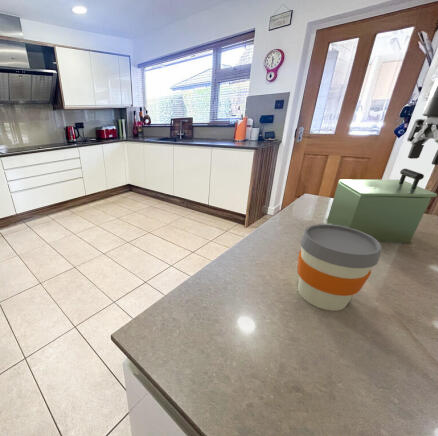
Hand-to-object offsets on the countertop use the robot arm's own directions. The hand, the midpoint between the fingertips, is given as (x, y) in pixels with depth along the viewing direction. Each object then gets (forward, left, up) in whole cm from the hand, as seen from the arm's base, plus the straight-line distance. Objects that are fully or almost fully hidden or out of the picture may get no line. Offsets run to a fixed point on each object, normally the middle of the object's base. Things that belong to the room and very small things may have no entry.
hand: (424, 161), depth 64 cm
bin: (+8, 0, -23) cm, 24 cm away
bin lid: (+7, 0, -8) cm, 11 cm away
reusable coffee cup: (+31, +33, -23) cm, 51 cm away
